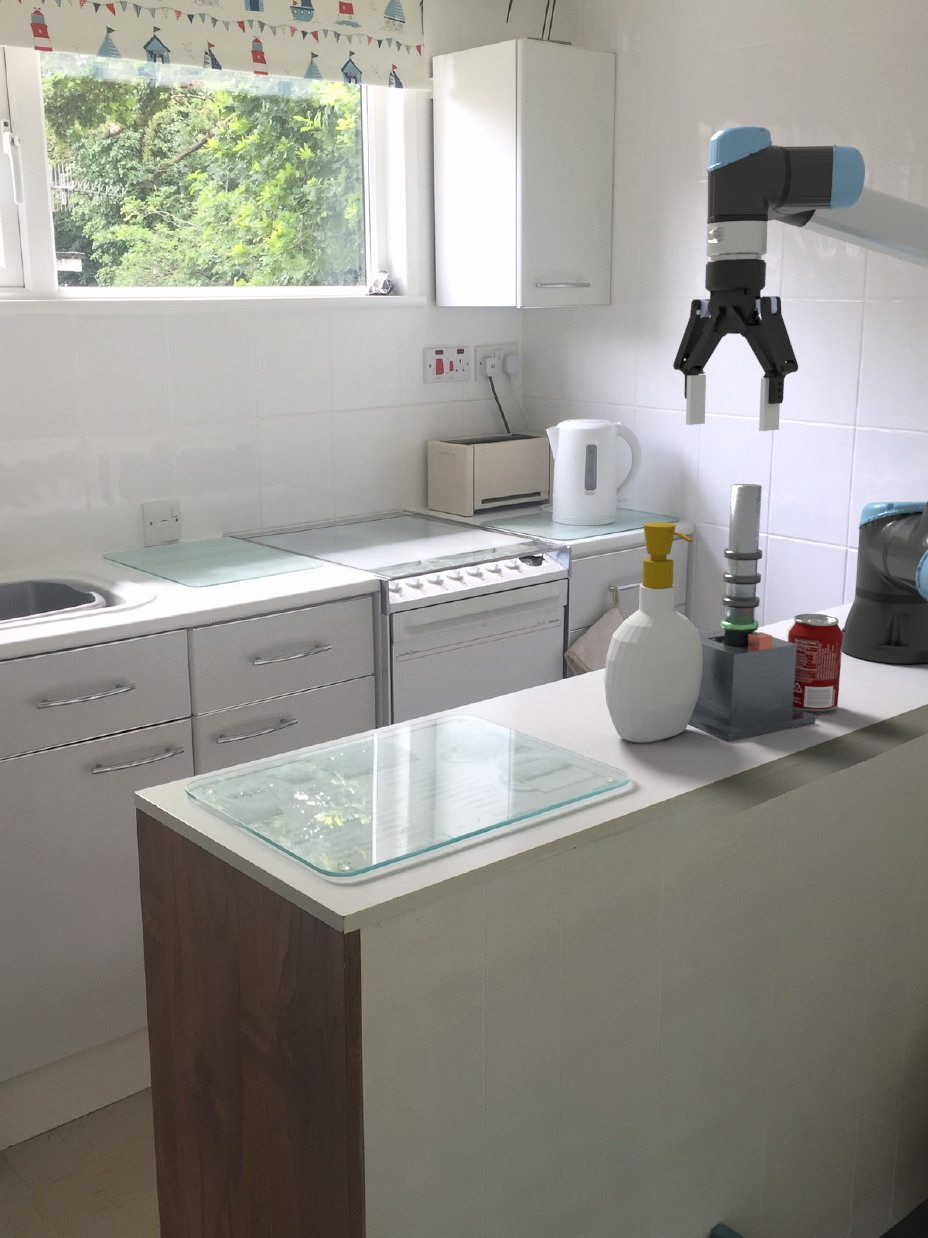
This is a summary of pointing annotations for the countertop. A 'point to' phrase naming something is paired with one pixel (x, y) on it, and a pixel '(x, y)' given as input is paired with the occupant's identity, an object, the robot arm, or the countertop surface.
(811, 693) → the soda can
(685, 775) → the countertop surface
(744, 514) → the column
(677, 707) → the soap bottle
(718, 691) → the sleeve
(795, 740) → the countertop surface
